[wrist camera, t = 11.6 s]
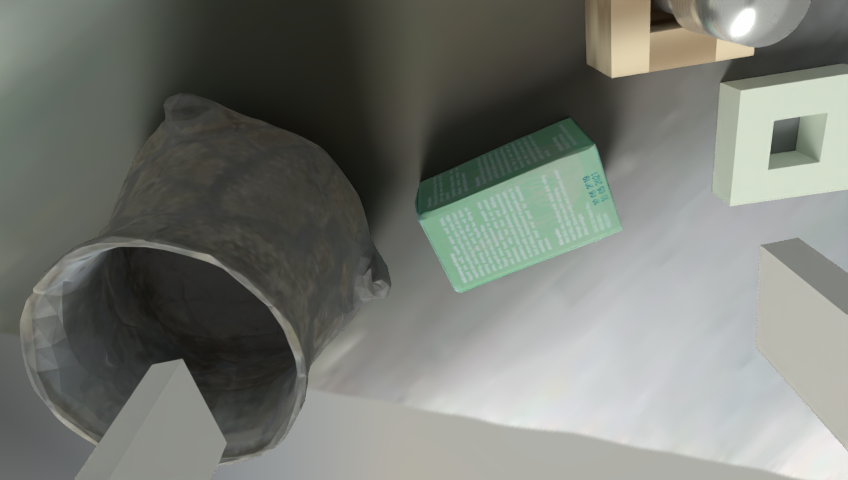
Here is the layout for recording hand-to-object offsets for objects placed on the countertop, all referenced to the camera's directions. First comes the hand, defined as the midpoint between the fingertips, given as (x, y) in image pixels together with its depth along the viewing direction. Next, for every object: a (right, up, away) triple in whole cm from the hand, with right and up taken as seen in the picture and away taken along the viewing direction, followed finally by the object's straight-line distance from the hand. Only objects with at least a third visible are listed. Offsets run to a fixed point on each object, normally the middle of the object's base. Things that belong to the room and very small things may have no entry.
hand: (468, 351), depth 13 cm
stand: (+27, +11, +31) cm, 42 cm away
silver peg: (+15, +20, +25) cm, 36 cm away
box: (+6, +7, +33) cm, 34 cm away
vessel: (-15, +5, +34) cm, 37 cm away
